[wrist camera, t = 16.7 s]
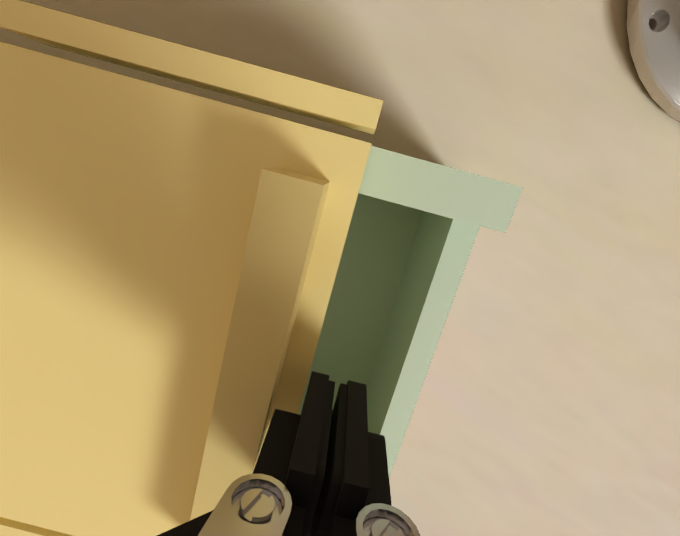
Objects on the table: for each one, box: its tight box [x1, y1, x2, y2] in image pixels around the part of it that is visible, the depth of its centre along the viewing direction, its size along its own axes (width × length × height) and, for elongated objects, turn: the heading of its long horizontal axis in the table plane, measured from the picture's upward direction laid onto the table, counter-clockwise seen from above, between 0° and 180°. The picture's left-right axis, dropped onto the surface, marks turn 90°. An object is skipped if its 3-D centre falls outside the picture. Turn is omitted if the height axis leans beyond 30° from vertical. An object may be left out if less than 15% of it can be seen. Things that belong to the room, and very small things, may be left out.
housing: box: [298, 146, 523, 477], centre depth 18 cm, size 15×26×10 cm, turn 75°
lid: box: [0, 0, 383, 536], centre depth 12 cm, size 18×10×4 cm, turn 165°
